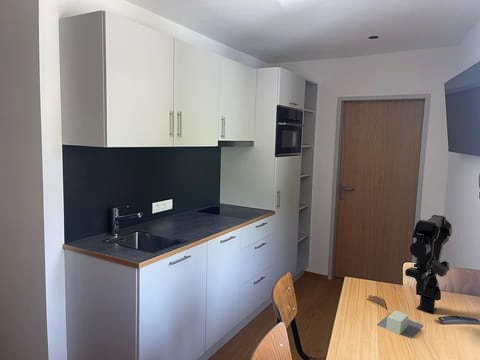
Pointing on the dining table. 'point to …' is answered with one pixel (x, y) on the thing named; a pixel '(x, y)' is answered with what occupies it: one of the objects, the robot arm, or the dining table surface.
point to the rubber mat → (409, 331)
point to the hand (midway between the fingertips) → (422, 291)
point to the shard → (376, 301)
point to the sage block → (397, 322)
